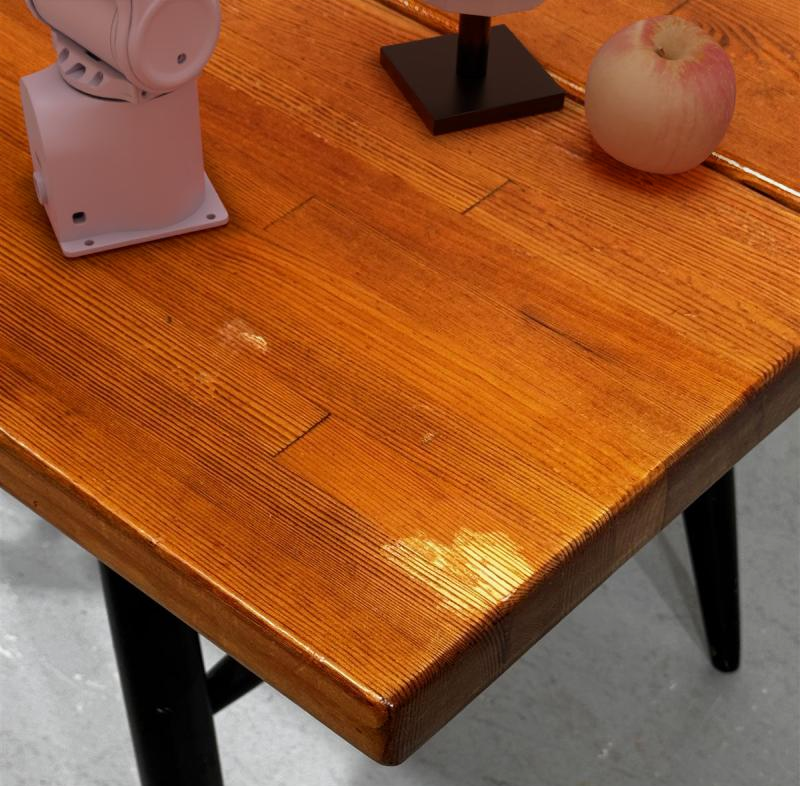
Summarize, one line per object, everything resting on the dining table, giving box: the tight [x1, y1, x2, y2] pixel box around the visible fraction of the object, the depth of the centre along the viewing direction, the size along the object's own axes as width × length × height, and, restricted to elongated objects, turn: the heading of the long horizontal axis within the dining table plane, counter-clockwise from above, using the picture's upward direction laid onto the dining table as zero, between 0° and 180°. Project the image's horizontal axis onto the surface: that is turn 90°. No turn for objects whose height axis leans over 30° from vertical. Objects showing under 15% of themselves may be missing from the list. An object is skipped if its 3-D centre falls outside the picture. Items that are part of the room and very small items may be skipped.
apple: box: [583, 14, 737, 175], centre depth 86 cm, size 9×9×8 cm
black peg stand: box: [379, 13, 566, 136], centre depth 92 cm, size 9×9×6 cm
